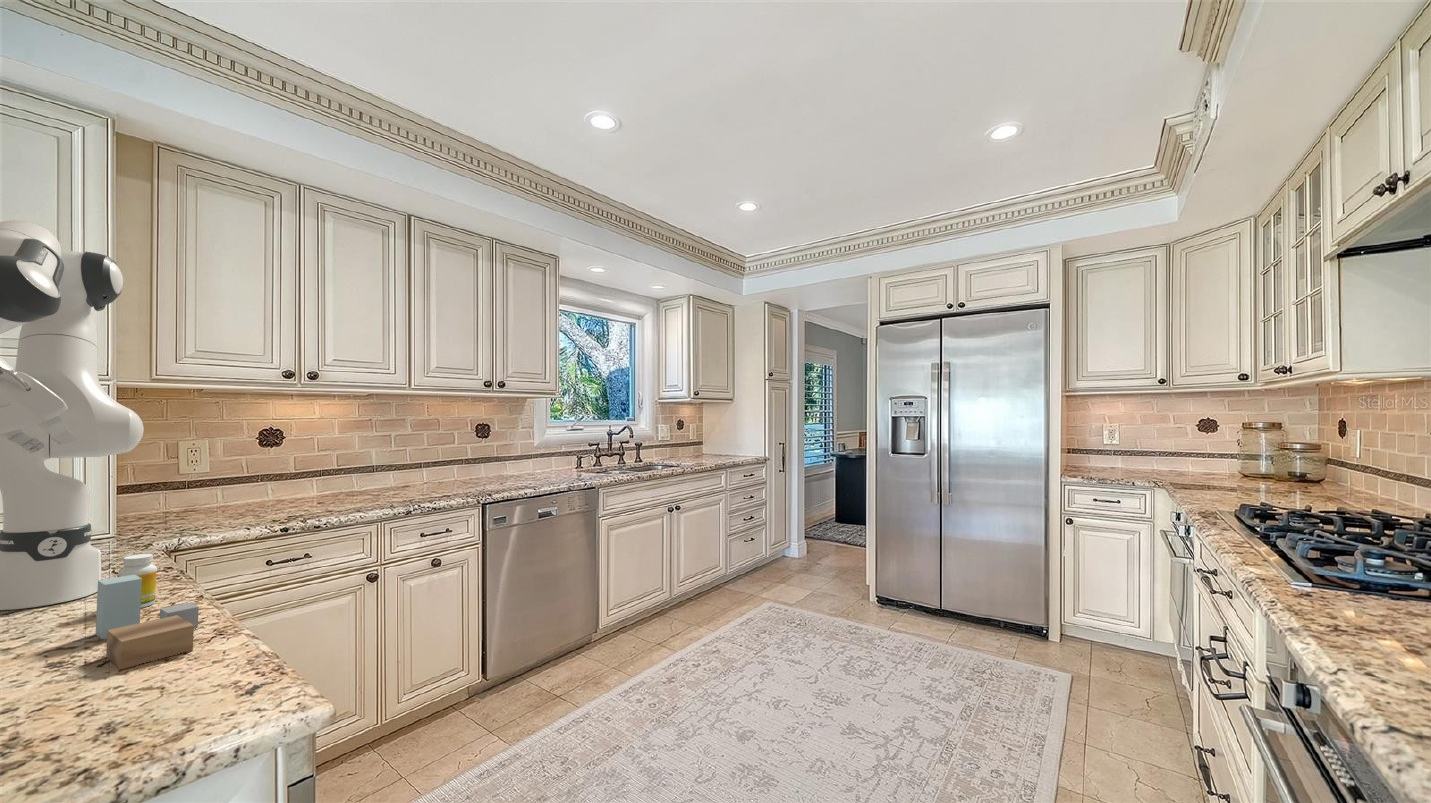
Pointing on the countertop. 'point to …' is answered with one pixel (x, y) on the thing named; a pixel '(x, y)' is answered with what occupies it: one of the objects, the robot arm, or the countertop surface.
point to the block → (182, 612)
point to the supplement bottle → (142, 575)
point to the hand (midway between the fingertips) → (53, 446)
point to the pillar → (118, 603)
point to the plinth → (149, 641)
